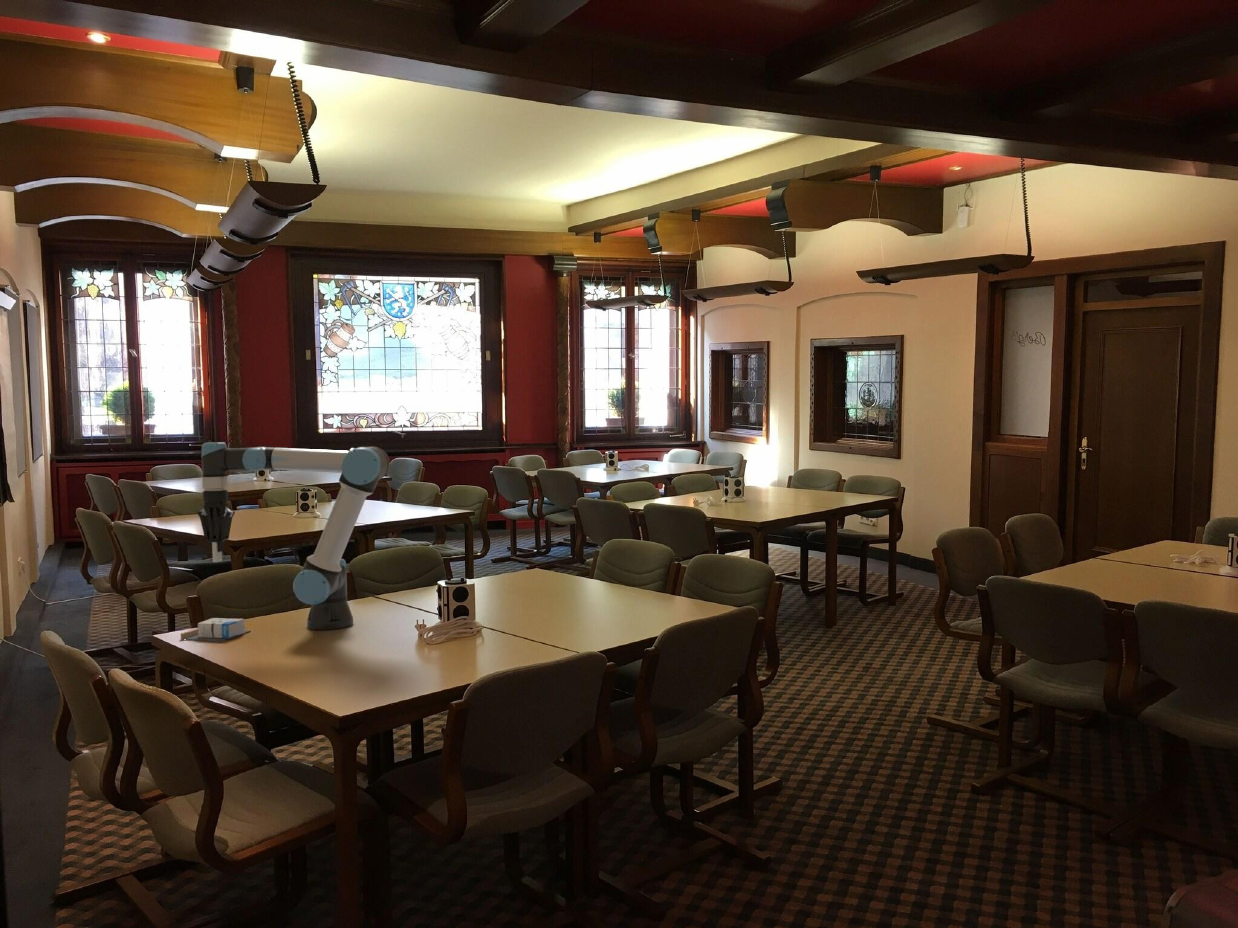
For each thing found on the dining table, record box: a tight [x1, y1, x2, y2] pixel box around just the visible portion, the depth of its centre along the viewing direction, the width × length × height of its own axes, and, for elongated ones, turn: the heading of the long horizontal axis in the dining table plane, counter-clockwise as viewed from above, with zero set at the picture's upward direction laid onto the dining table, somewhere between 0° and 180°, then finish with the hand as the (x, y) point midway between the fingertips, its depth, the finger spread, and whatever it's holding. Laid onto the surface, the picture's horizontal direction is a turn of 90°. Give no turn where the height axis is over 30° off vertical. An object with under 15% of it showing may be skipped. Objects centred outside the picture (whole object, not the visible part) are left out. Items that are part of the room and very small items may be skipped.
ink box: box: [197, 617, 246, 639], centre depth 310 cm, size 9×5×12 cm
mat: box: [180, 628, 252, 643], centre depth 312 cm, size 15×15×2 cm
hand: (217, 561), depth 310 cm, fingers closed
